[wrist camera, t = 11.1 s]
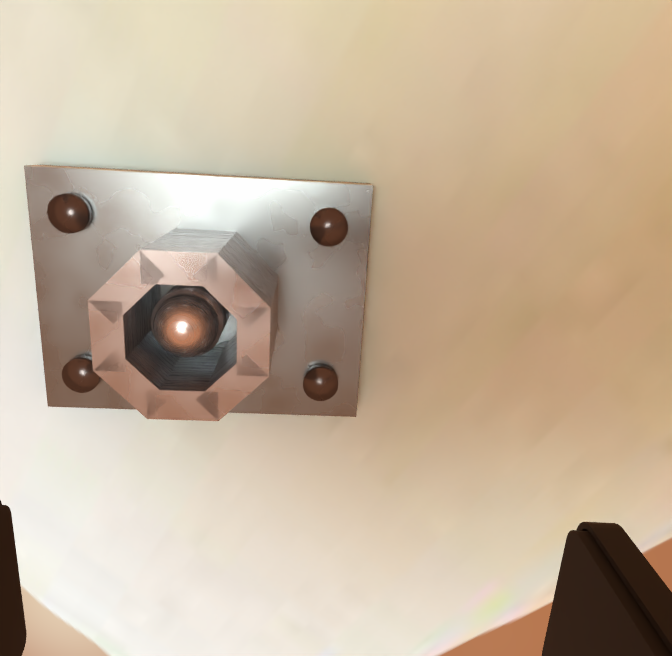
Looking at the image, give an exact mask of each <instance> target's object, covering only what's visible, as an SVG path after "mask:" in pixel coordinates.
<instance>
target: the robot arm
mask: <svg viewBox="0 0 672 656" xmlns="http://www.w3.org/2000/svg"><path fill="white" fill-rule="evenodd" d="M25 643H26V626H25V619H24V611H23V603H22V595H21V587H20V579H19V571H18V563H17V555H16V548H15V540H14V532H13V524H12V516H11V511H10V508H9V507H8V506H6V505H2V504H1V501H0V656H22V653H23V650H24V647H25ZM542 656H672V592H671V591H670V590H669V588H668V587H667V586H666V585H665V583H664V582H663V581H662V579H661V578H660V577H659V575H658V574H657V573H656V571H655V570H654V569H653V567H652V566H651V565H650V564H649V562H648V561H647V560H646V558H645V557H644V556H643V554H642V553H641V552H640V550H639V549H638V548H637V547H636V545H635V544H634V543H633V541H632V540H631V539H630V537H629V536H628V535H627V533H626V532H625V531H624V530H623V528H622V527H621V526H620V525H618V524H615V523H597V522H582V523H580V525H579V526H578V528H577V530H572V531H570V532H569V533H568V535H567V539H566V543H565V548H564V553H563V557H562V562H561V567H560V571H559V576H558V581H557V585H556V590H555V595H554V599H553V605H552V609H551V613H550V618H549V623H548V627H547V632H546V637H545V641H544V647H543V651H542Z"/></svg>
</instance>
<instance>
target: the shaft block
mask: <svg viewBox="0 0 672 656" xmlns="http://www.w3.org/2000/svg"><path fill="white" fill-rule="evenodd" d="M24 169H25V179H26V189H27V199H28V210H29V220H30V230H31V240H32V250H33V260H34V270H35V280H36V291H37V301H38V311H39V321H40V331H41V341H42V351H43V361H44V372H45V382H46V392H47V402H48V406H51V407H81V408H111V409H136V408H135V407H133V406H132V405H131V404H130V403H129V402H128V401H127V400H126V399H124V398H123V397H122V396H121V395H120V394H119V393H118V392H116V391H115V390H114V389H113V388H112V387H111V386H110V385H109V384H107V383H106V382H105V381H104V380H103V379H102V378H101V377H100V376H98V375H97V374H96V373H95V372H94V371H93V365H92V351H91V338H90V325H89V312H88V300H89V299H90V298H91V297H92V296H93V295H94V294H95V293H96V292H97V291H98V290H99V289H100V288H101V287H102V286H103V285H104V284H105V283H106V282H107V281H108V280H109V279H110V278H111V277H112V276H113V275H114V274H115V273H116V272H117V271H118V270H119V269H120V268H121V267H122V266H123V265H124V264H125V263H126V262H127V261H128V260H129V259H131V258H132V257H133V256H134V255H135V254H136V253H137V252H138V251H139V250H140V249H142V248H143V247H145V246H147V245H148V244H150V243H152V242H153V241H155V240H157V239H158V238H160V237H162V236H163V235H165V234H167V233H168V232H170V231H172V230H173V229H195V230H216V231H237V232H238V234H239V235H240V236H241V237H242V238H243V239H244V240H245V241H246V242H247V243H248V244H249V245H250V246H251V247H252V248H253V249H254V250H255V251H256V252H257V253H258V254H259V256H260V257H261V258H262V259H263V260H264V261H265V262H266V263H267V264H268V265H269V266H270V267H271V268H272V269H273V270H274V271H275V272H276V273H277V274H278V275H279V278H278V318H277V335H276V341H275V346H274V352H273V357H272V363H271V369H270V374H269V377H268V378H267V379H266V380H265V381H263V382H262V383H261V384H260V385H259V386H258V387H257V388H255V389H254V390H253V391H252V392H251V393H250V394H249V395H247V396H246V397H245V398H244V399H243V400H242V401H241V402H239V403H238V404H237V405H236V406H235V407H234V408H233V409H231V410H230V411H229V412H231V413H261V414H291V415H321V416H351V417H356V411H357V398H358V384H359V371H360V357H361V344H362V330H363V317H364V303H365V290H366V276H367V262H368V249H369V235H370V222H371V208H372V195H373V185H372V184H370V183H352V182H335V181H317V180H299V179H281V178H264V177H246V176H228V175H211V174H193V173H175V172H158V171H140V170H122V169H105V168H87V167H69V166H51V165H28V166H24ZM161 295H162V299H161V300H160V301H159V302H158V303H157V304H156V306H155V308H154V310H153V312H152V316H151V328H152V332H153V334H154V337H155V339H156V340H157V342H158V343H159V344H160V345H161V346H162V347H163V348H164V349H165V350H167V351H168V352H170V353H172V354H174V355H177V356H180V357H187V358H188V357H197V356H201V355H203V354H205V353H207V352H208V351H210V350H211V349H212V348H213V347H214V346H215V345H216V344H226V343H227V342H228V341H229V340H230V339H231V338H233V337H234V336H235V335H236V334H237V319H236V318H235V317H234V316H233V315H232V314H231V313H230V312H229V311H228V310H227V309H226V308H225V307H224V306H223V305H222V304H221V303H220V302H219V301H218V300H217V299H216V298H215V297H214V296H213V295H212V294H211V293H210V292H209V291H208V290H207V289H206V288H205V287H204V286H185V285H162V284H161Z"/></svg>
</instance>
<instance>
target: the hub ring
mask: <svg viewBox="0 0 672 656" xmlns="http://www.w3.org/2000/svg"><path fill="white" fill-rule="evenodd" d="M278 278H279V275H278V274H277V273H276V272H275V271H274V270H273V269H272V268H271V267H270V266H269V265H268V264H267V263H266V262H265V261H264V260H263V259H262V258H261V257H260V256H259V254H258V253H257V252H256V251H255V250H254V249H253V248H252V247H251V246H250V245H249V244H248V243H247V242H246V241H245V240H244V239H243V238H242V237H241V236H240V235H239V234H238V232H237V231H216V230H195V229H173V230H172V231H170V232H168V233H167V234H165V235H163V236H162V237H160V238H158V239H157V240H155V241H153V242H152V243H150V244H148V245H147V246H145V247H143V248H142V249H140V250H139V251H138V252H137V253H136V254H135V255H134V256H133V257H132V258H131V259H129V260H128V261H127V262H126V263H125V264H124V265H123V266H122V267H121V268H120V269H119V270H118V271H117V272H116V273H115V274H114V275H113V276H112V277H111V278H110V279H109V280H108V281H107V282H106V283H105V284H104V285H103V286H102V287H101V288H100V289H99V290H98V291H97V292H96V293H95V294H94V295H93V296H92V297H91V298H90V299H89V300H88V312H89V325H90V338H91V351H92V365H93V371H94V372H95V373H96V374H97V375H98V376H100V377H101V378H102V379H103V380H104V381H105V382H106V383H107V384H109V385H110V386H111V387H112V388H113V389H114V390H115V391H116V392H118V393H119V394H120V395H121V396H122V397H123V398H124V399H126V400H127V401H128V402H129V403H130V404H131V405H132V406H133V407H135V408H136V409H137V410H138V411H139V412H140V413H141V414H142V415H144V416H145V417H146V418H147V419H171V420H205V421H219V420H220V419H221V418H222V417H223V416H225V415H226V414H227V413H228V412H229V411H230V410H231V409H233V408H234V407H235V406H236V405H237V404H238V403H239V402H241V401H242V400H243V399H244V398H245V397H246V396H247V395H249V394H250V393H251V392H252V391H253V390H254V389H255V388H257V387H258V386H259V385H260V384H261V383H262V382H263V381H265V380H266V379H267V378H268V377H269V374H270V369H271V363H272V357H273V352H274V346H275V341H276V335H277V318H278ZM161 284H162V285H185V286H204V287H205V288H206V289H207V290H208V291H209V292H210V293H211V294H212V295H213V296H214V297H215V298H216V299H217V300H218V301H219V302H220V303H221V304H222V305H223V306H224V307H225V308H226V309H227V310H228V311H229V312H230V313H231V314H232V315H233V316H234V317H235V318H236V319H237V334H236V335H235V336H234V337H233V338H231V339H230V340H229V341H228V342H227V343H226V344H216V345H215V346H214V347H213V348H212V349H211V350H210V351H208V352H207V353H205V354H203V355H201V356H197V357H188V358H187V357H180V356H177V355H174V354H172V353H170V352H168V351H167V350H165V349H164V348H163V347H162V346H161V345H160V344H159V343H158V342H157V340H156V339H155V337H154V334H153V332H152V328H151V316H152V312H153V310H154V308H155V306H156V304H157V303H158V302H159V301H160V300H161V299H162V295H161Z"/></svg>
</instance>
